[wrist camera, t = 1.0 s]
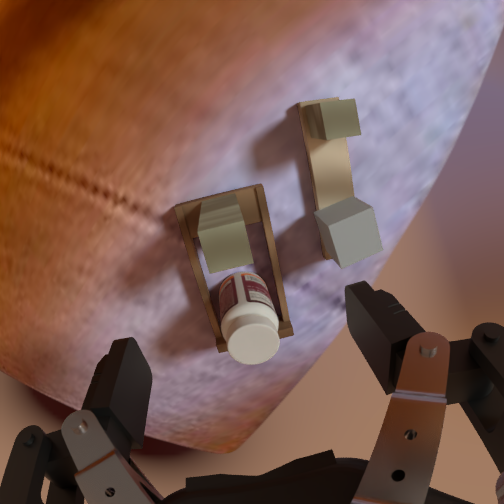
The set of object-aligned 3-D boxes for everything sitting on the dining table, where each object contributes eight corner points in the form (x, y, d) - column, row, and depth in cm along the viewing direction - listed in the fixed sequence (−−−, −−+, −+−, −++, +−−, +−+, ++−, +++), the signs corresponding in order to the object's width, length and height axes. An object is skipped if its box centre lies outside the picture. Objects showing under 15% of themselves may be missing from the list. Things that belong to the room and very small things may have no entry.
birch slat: (296, 103, 25) (314, 98, 21) (334, 98, 25) (357, 93, 21) (322, 256, 31) (340, 279, 26) (355, 247, 31) (377, 268, 26)
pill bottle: (228, 318, 32) (233, 375, 25) (212, 279, 30) (212, 331, 23) (273, 304, 32) (290, 358, 25) (260, 263, 30) (276, 311, 23)
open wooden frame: (175, 204, 27) (159, 240, 19) (260, 183, 27) (282, 209, 19) (218, 338, 33) (221, 402, 24) (288, 321, 33) (311, 381, 25)
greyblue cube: (313, 212, 28) (328, 225, 24) (352, 196, 28) (372, 207, 24) (326, 250, 30) (341, 268, 26) (363, 234, 29) (382, 250, 26)
